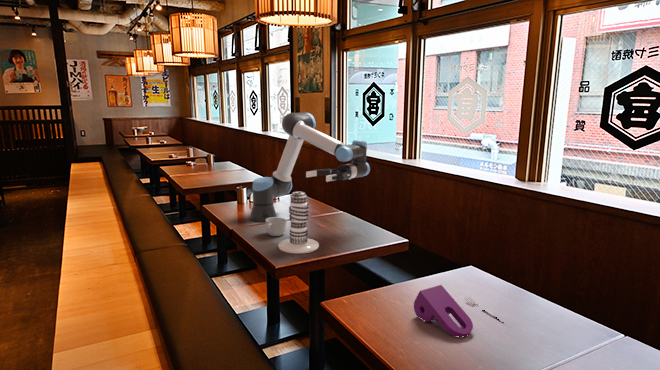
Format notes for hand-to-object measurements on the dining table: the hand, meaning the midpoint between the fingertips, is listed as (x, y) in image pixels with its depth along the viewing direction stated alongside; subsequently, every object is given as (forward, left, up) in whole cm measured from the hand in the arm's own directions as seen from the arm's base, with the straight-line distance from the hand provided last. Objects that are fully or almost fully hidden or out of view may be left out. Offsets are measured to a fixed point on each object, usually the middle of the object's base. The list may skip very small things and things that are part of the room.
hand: (316, 176), depth 205 cm
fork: (+34, +88, -33) cm, 100 cm away
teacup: (+2, -23, -33) cm, 40 cm away
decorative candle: (+10, -3, -31) cm, 33 cm away
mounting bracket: (+47, +75, -33) cm, 95 cm away
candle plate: (+10, -3, -32) cm, 34 cm away
